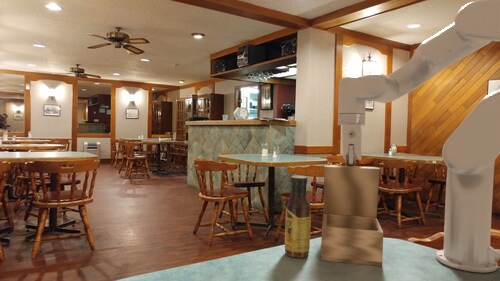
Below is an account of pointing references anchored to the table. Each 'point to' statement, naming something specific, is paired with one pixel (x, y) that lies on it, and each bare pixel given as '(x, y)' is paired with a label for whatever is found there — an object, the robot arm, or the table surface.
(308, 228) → the sauce bottle
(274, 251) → the table surface
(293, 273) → the table surface
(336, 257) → the box
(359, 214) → the lid
